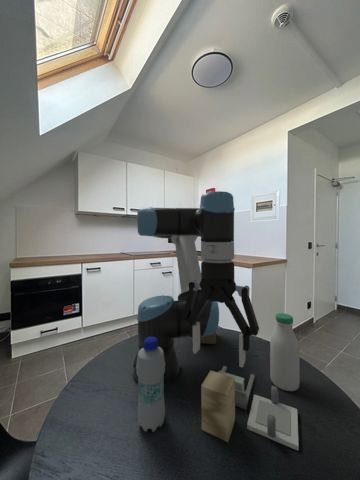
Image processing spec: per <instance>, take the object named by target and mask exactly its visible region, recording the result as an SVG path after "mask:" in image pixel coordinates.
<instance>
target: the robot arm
mask: <svg viewBox="0 0 360 480" xmlns="http://www.w3.org/2000/svg"><path fill="white" fill-rule="evenodd" d="M136 224H137V234H138V235H139V236H143V237H144V236H145V237H154V238H159V239H171V243H172V244H174V245H175V251H176V252H175V254H176V261H177V268H178V269H177V270H178V278H179V279H178V280H179V287H180V293H179V294H178V296H177V300H175V299H174V298H173V296H171V295H163V294H162V295H156V296H152V297H149V298H147V299H144V300H143V301H142V302H141V303H139V305H138V309H137V316H136V318H137V319H136V320H137V323H138V324H137V340H138V341H137V345H138V346H137V350H136V354H135V358H134V360H133V364H132V376H133V377H132V378H133V379H134V380H135V381H136V382H137V383H138V376H137V369H136V365H137V358H138V352H139V351H140V350H141V349H142V348H144V340H145V339H146V338H148V337H156V338H157V340H158V347H160V348H162V350H163V353H164V360H165V372H164V385H168V384H170V383H171V382H173V381H174V380H175V379H177V377H178V375H179V373H180V360H179V357H178V354H177V350H176V348H175V339H183V338H184V339H186V338H192V337H193V342H192V353H193V354H197V353H198V351H200V349H201V343H200V336H202V337H203V336H206V335H212V334H214V333H215V332H216V333H217V330H218V327H219V322H220V307H219V303H220V304H224V305H225V306H226V308H228V310H229V312H230V314H231V316H232V318H233V319H234V321H235V323H236V325H237V326H238V328H239V330H240V333H239V335H238V363H239V365H238V367H240V368H244V366H245V362H246V352H249V350H250V348H251V336H257V335H258V333H259V330H260V327H259V326H260V325H259V323H258V321H257V316H256V314H255V310H254V306H253V303H252V302H251V298H250V287H249V285H244V286H243V285H242V286H241V285H237V284H236V282H235V263H234V261H233V260H235V239H234V238H235V205H234V196H233V194H232V193H230V192H229V191H221V190H220V191H219V190H218V191H209V192H206V193H203V194H202V195H201V197H200V204H199V208H198V207H196V208H195V207H174V208H173V207H153V206H149V207H139V208H138V209H137V222H136ZM198 237H200V258H201V260H202V262H199V256H198V251H197V248H196V241H197V239H198ZM235 292H237V294H238V296H239V297H240V298H241V304H242V307H243V309H244V313H245V316H246V319H245V316H244V315H243V313H242V311H241V310H240V308H239V307H238V304H237V302H236V299H235V298H234V296H233V294H235ZM246 320H247V321H246Z"/></svg>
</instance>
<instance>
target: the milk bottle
mask: <svg viewBox="0 0 360 480" xmlns="http://www.w3.org/2000/svg"><path fill="white" fill-rule="evenodd" d="M275 324H276V325H275V328H274V330H273V332H272V334H271V337H270V342H269V343H270V345H269V349H270V350H269V351H270V352H269V363H270V365H269V367H270V368H269V370H270V371H269V372H270V378H269V379H270V380H271V383H273V386H275V387H277V388H278V389H281V390H283V391H286V392H295V391H297V390H298V389H299V387H300V373H301V372H300V347H299V346H300V345H299V342H298V338H297V336H296V334H295V332H294V329H293V325H294V318H293V316H292V315H291V314H288V313H282V312H281V313H280V312H279V313H276V314H275Z"/></svg>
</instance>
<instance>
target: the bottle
mask: <svg viewBox="0 0 360 480" xmlns="http://www.w3.org/2000/svg"><path fill="white" fill-rule="evenodd" d="M136 369H137V376H138V382H137V389H138V391H137V392H138V393H137V395H138V401H137V421H138V425H139V426H140V427H141V428H142V430H143V432H146V433H147V432H148V431H149V429H150V430H151V431H152V433H154V432H156V430H157V429H158V428H161V427H162V426H163V424H164V421H165V415H166V406H165V388H164V387H165V386H164V372H165V360H164V353H163V350H162V348H160V347H158V340H157V338H156V337H148V338H146V339H145V340H144V348H142V349H141V350H140V351H139V352H138V358H137V365H136Z"/></svg>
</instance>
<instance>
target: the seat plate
mask: <svg viewBox="0 0 360 480" xmlns="http://www.w3.org/2000/svg"><path fill="white" fill-rule="evenodd" d="M270 394H271V395H270V396H271V397H270V398H271V399H269V398H266V397H264V396H260V395H258V394H253V397H252V399H253V400H252V402H251V407H250V411H249V415H248V419H247V424H246V426H247V427H246V429H247V430H249V431H251V432H253V433H255V434H257V435H261V436H263V437H265V438H267V439H269V440H272V441H274V442H275V443H276V442H277V443H279V444H282V445H283V446H285V447H288V448H291V449H293V450H295V451H298V452H299V423H298V419H299V418H298V409H297V408H295V407H293V406H289V405H286V404H283V403H282V402H279V388H278V387H277V386H275V385H272V386H271V387H270Z"/></svg>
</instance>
